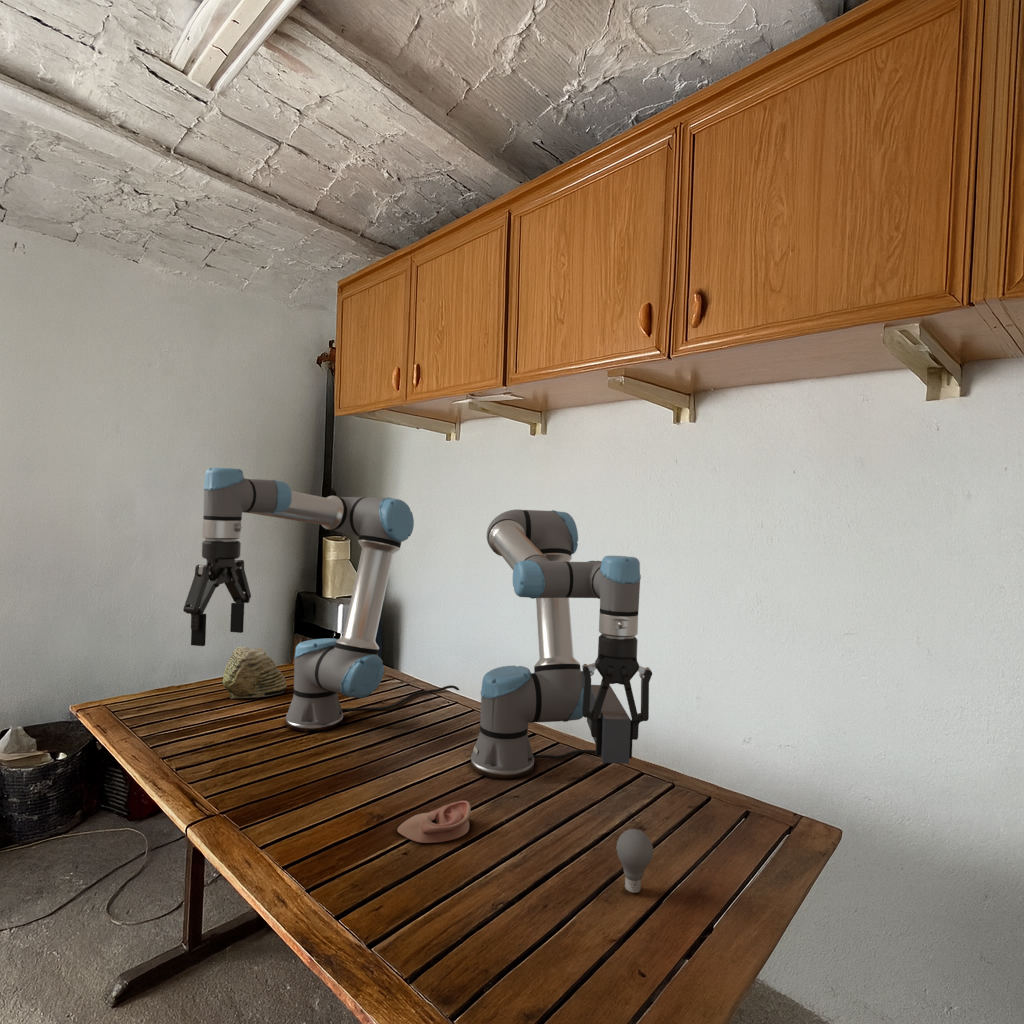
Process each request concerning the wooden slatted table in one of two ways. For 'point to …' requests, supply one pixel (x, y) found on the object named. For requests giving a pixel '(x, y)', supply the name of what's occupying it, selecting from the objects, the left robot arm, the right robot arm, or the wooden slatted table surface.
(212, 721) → the wooden slatted table surface
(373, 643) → the left robot arm
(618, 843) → the light bulb
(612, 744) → the bar
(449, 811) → the anatomical model
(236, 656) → the fossil
